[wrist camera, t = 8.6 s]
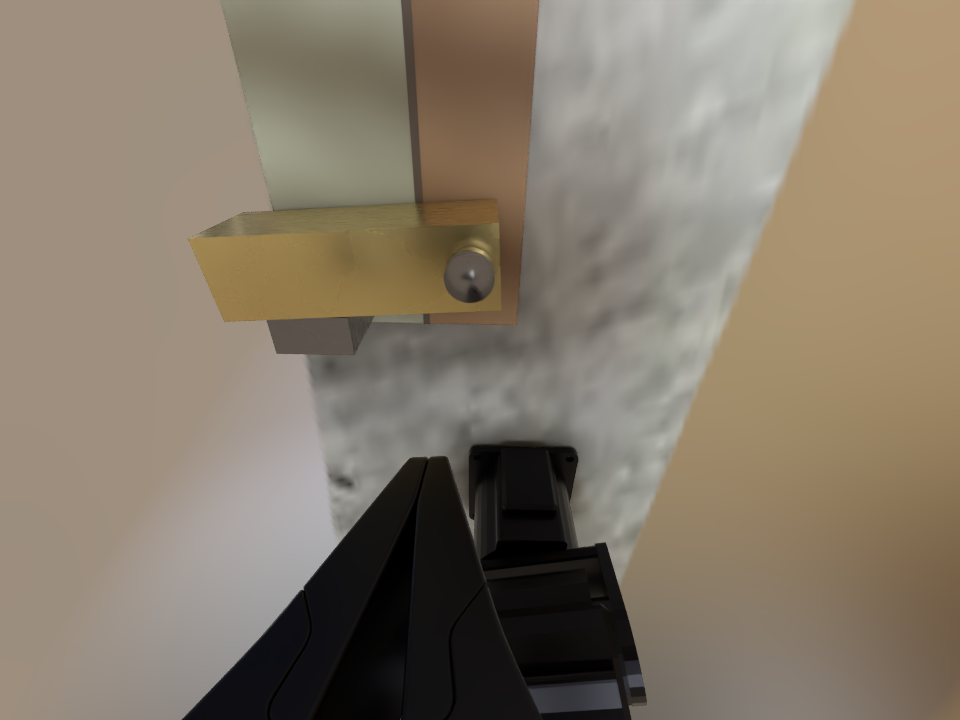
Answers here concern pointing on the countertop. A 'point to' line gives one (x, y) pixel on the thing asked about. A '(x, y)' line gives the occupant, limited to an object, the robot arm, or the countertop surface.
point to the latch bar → (354, 261)
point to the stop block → (319, 335)
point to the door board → (393, 109)
